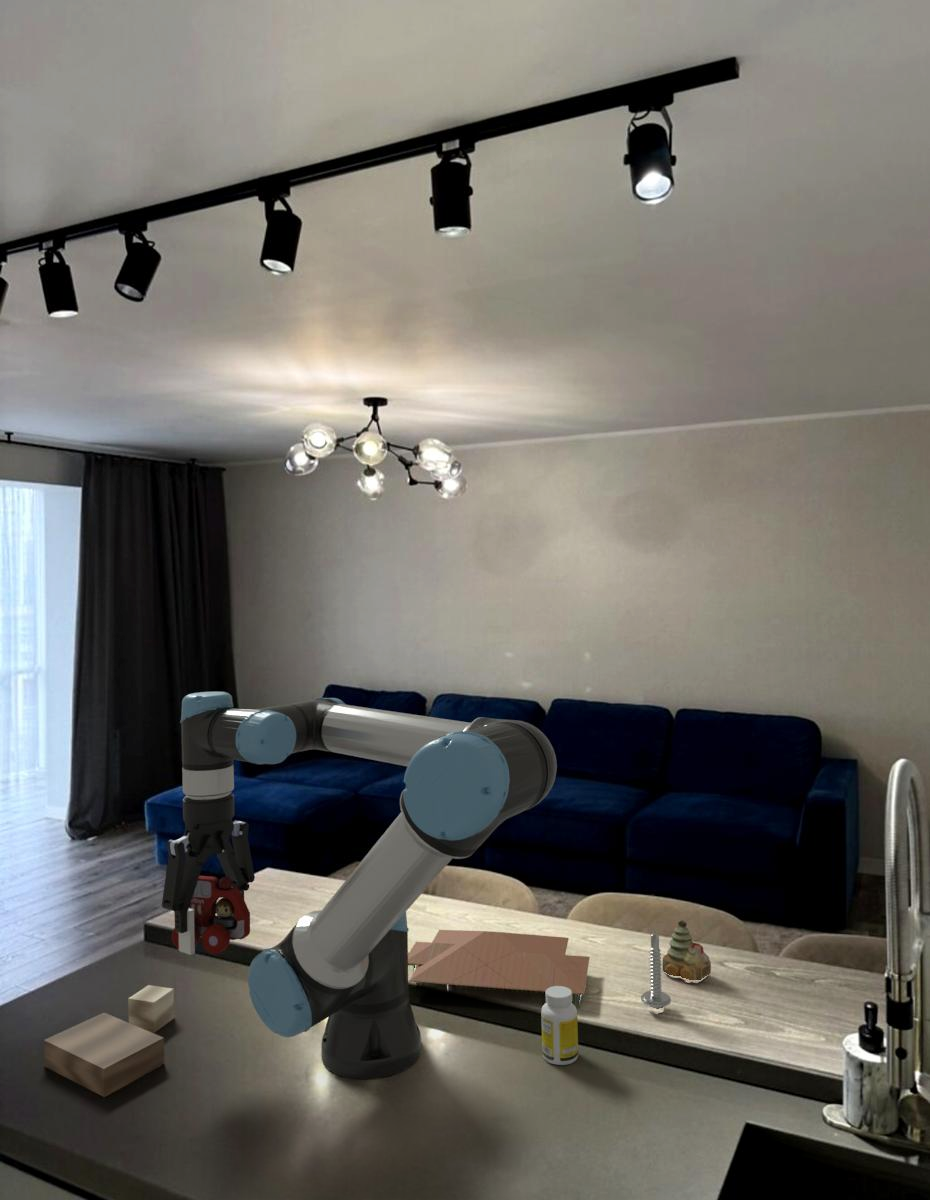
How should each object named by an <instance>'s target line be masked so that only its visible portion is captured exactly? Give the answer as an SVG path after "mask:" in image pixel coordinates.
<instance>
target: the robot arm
mask: <svg viewBox="0 0 930 1200" xmlns="http://www.w3.org/2000/svg"><path fill="white" fill-rule="evenodd" d="M180 715H181V717H180V721H179V723H180V730H181V762H182V768H181V769H182V770H181V771H182V793H183V794H184V795H185V796H184V797H183V799H182V817H183V818H182V819H183V822H184V824H185V829H184V832H183V836H181V837H180V838H178V839H175V840H174V839H169V840H168V841H167V842H166V849H167V855H168V858H167V865H166V873H165V879H164V887H163V896H162V900H161V901H162V902H161V907H162V909H166V910H169V911H173V912H174V928H175V930H176V932H179V949H178V951H179V952H181V953H183V954H187V955H190V956H191V955H194V954H195V953H196V946H195V937H194V909H191V908H189V907H190V904H191V901H192V897H193V894H194V891H195V888H196V885H197V882H198V878H199V876H201V873H202V872H201V871H202V869H203V866H204V865H206V863H207V860H208V858H210V857H212V856H213V855H216V856H217V859H218V861H219V864H220V865H221V868H222V870H223V872H224V874H225V876H228V877H230V878H231V879H232V881H233V886H232V887H234V888H238V889H239V890H240V892H241V894H242V896H243V899H244V900H245V892H246V891H248V890H249V888H250V883H253V882H254V881H255V879H256V878H255V877H256V876H255V871H254V867H253V866H254V865H253V861H252V859H253V858H252V855H251V849H250V843H249V826H250V825H249V823H248V822H245V821H241V820H234V821H233V818H234V816H235V795H234V794H233V793H232V791H233V790H234V789H235V777H234V775H235V774H234V772H235V769H234V760H235V761H240V762H241V761H242V762H245V763H247V762H248V763H251V764H255V765H276V764H281V763H282V762H284V761H285V760H286V759H287V757H289V756H290V755H291V754H295V753H300V752H304V751H309V750H318V751H324V752H328V753H336V754H342V755H346V756H351V757H352V756H353V757H357V758H361V759H362V758H363V759H365V760H366V759H367V760H373V761H377V762H382V763H387V764H388V763H389V764H393V765H397V766H403V767H406V769H405V772H404V778H403V783H404V784H405V787H404V789H403V790H402V792H401V794H400V797H399V807H400V813H399V814H398V816H397V817H396V818H395V819H394V820H393V822H392V823H391V824H390V825H389V827H387V829H386V830H385V832H384V833H383V834H382V835H381V836H380V838H379V839H378V840H377V841H376V843H374V845H373V846H372V847H371V849H370V850H369V851H368V853H367V854H366V855H365V856H364V857H363V859H362V860H361V861H360V862H359V864H358V865H357V866H356V867H355V868H354V870H353V871H352V872H351V873H350V874H349V875H348V877H347V878H346V879H345V881H344V882H343V883H342V885H341V886H339V888H338V890H337V891H335V893H334V894H333V896H331V898H330V899H329V900H328V901H327V903H326V904H325V905H324V907H323V908H322V909H321V910H314V911H310V912H308V913H306V914H305V915H303V916H302V917H301V918H299V920H298V921H297V922H296V924H295V925H294V926H293V927H292V929H290V931H289V932H288V933H287V934H286V936H285V937H284V939H282V940H281V942H279V943H277V944H275V946H274V945H273V946H272V947H267V948H265V949H263V950H262V951H261V952H260V953H258V954H257V955H255V957H254V958H253V959H252V961H251V963H250V965H249V968H248V974H247V985H248V989H249V997H250V1000H251V1003H252V1005H253V1008H254V1010H255V1012H256V1014H257V1015H258V1017H259V1019H260V1021H261V1022H262V1023H263V1024H264V1025H265V1027H266V1028H268V1030H270V1031H271V1032H272V1033H274V1034H277V1035H279V1036H280V1037H282V1038H293V1037H296V1036H297V1035H301V1034H302V1033H307V1032H308V1031H309V1030H311V1028H312V1027H315V1025H316V1026H317V1025H318V1024H319V1023H321V1022H322V1021H324V1020H325V1019H327V1021H326V1024H325V1028H324V1033H323V1035H322V1037H321V1038H322V1039H321V1044H320V1045H321V1060H322V1063H323V1065H324V1066H325V1068H327V1069H328V1070H329V1071H330V1072H332V1073H334V1074H336V1075H339V1076H341V1077H345V1078H350V1079H358V1080H367V1079H368V1080H369V1079H379V1078H384V1077H385V1078H386V1077H388V1076H392V1075H394V1074H395V1075H396V1074H398V1073H400V1072H403V1071H404V1070H406V1069H407V1068H409V1067H411V1066H412V1065H413V1064H414V1063H416V1061H417V1060H418V1059H419V1057H420V1055H421V1052H422V1036H421V1035H422V1034H421V1031H420V1027H419V1025H418V1024H417V1023H416V1022H417V1021H416V1019H415V1016H414V1011H413V1008H412V1005H411V1002H410V997H409V965H408V953H409V946H408V945H409V937H408V933H409V926H408V920H407V918H408V917H407V911H408V910H410V908H411V906H413V904H414V903H415V902H416V900H417V899H418V898H419V897H420V896H421V895H422V894H423V893H424V891H425V890H426V889H427V888H428V887H429V886H430V885H431V884H432V882H433V881H435V879H436V878H437V877H438V875H439V874H441V872H442V871H443V870H444V869H445V868H446V866H448V864H449V863H450V862H451V861H452V860H453V859H455V860H457V859H458V860H461V859H466V858H470V857H471V856H472V855H473V854H474V853H475V852H476V851H477V850H478V849H479V847H481V846H482V844H483V843H485V842H486V840H487V839H488V838H489V836H491V835H492V833H493V832H494V831H495V830H496V829H497V828H498V827H499V826H500V825H501V824H503V822H504V821H506V820H507V819H511V818H512V817H514V816H516V815H518V814H521V813H522V812H525V811H528V810H530V809H532V808H534V807H536V806H537V805H539V804H540V803H541V802H542V801H543V800H544V799H545V798H546V797H547V796H548V795H549V793H550V792H551V790H552V789H553V787H554V786H553V785H554V783H555V780H556V776H557V769H558V765H557V757H556V753H555V749H554V747H553V746H552V744H551V742H550V740H549V739H548V737H547V736H546V735H545V733H544V732H542V731H541V730H540V729H539V728H538V727H536V726H534V725H533V724H531V723H529V722H525V721H524V720H515V719H501V718H491V717H484V716H481V717H477V718H474V720H473V721H471V722H466V721H463V720H462V721H460V720H454V719H447V718H446V719H445V718H439V717H433V716H427V715H418V714H412V713H405V712H398V711H391V710H385V709H384V710H383V709H377V708H371V707H370V708H369V707H363V706H358V705H357V706H356V705H350V704H346V703H345V702H344V701H343V700H341V699H339V698H337V697H318V698H316V699H313V700H312V699H311V700H305V701H301V702H294V703H289V704H283V705H280V704H279V705H274V706H269V707H262V708H261V707H260V708H255V709H251V708H250V709H248V708H246V709H245V708H236V707H235V708H234V703H233V696H232V695H231V694H230V693H229V692H226V691H203V692H202V691H200V692H193V693H189V694H187V695H185V696H184V697H183V698H182V701H181V714H180ZM230 838H231V841H232V842H231V841H230ZM231 843H232V844H231ZM187 847H188V848H187ZM195 856H197V857H195Z"/></svg>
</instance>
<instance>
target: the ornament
mask: <svg viewBox="0 0 930 1200" xmlns="http://www.w3.org/2000/svg"><path fill="white" fill-rule="evenodd" d="M673 931H674V932H673V933H672V934H671V938H672V939H670V940H669V946H670V947H669V949H668V950H667V952H666V953H667V954H665V955H664V956H663V957H662V971H663V973H664V972H666V973H667V974H669V975H673V976H681V977H682V978H686V979H689V980H701V979H702V978H704V977H705V976H707V975H709V974H710V975H711V972H712V961H711V960H710V957H709V955H708V954H707V953H706V952H705V951H704V946H703V945H702V944H700V943H697V942H694V941H692V939H693V938H692V935H691V934H690V929H689V928H687V922H685V920H683V919H681V920H680V921H678V923H677V926H676V927H675V928H674V930H673ZM710 975H709V976H710Z"/></svg>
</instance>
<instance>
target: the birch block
mask: <svg viewBox="0 0 930 1200" xmlns="http://www.w3.org/2000/svg"><path fill="white" fill-rule="evenodd" d="M174 994H175V989H174V988H171V987H164V986H159V985H151V984H148V985H146V986H144V987H143V988H142V989H140V990H139V991H138V992H136V993H134V994H133V995H132V996H129V997H128V999H127V1001H128V1003H127V1004H128V1023H130V1024H133V1025H135V1026H137V1027H140V1028H142V1029H144V1030H147V1031H149V1032H151V1033H154V1034H156V1032H157V1031H159V1030H160V1029H161V1028H163V1027H164V1026H166V1025H167V1024H168V1023H170V1022H171V1021H172V1020H174V1019H175V995H174Z"/></svg>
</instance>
